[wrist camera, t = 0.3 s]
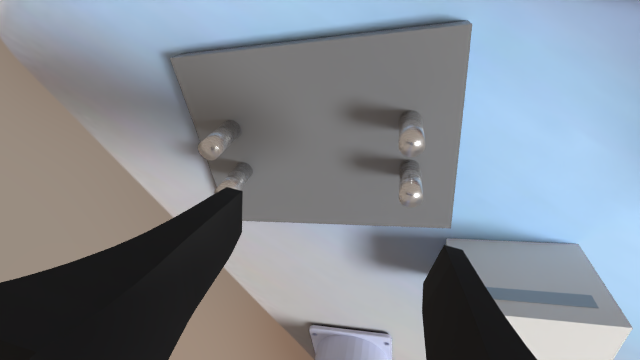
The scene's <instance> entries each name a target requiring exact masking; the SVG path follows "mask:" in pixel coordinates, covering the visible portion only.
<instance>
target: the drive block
mask: <svg viewBox="0 0 640 360" xmlns="http://www.w3.org/2000/svg"><path fill="white" fill-rule="evenodd" d="M446 245H447V246H451V247H454V248H458V249H462V250H463V251H464V253H465V254H466V256H467V258H468V259H469V261H470V262H471V264H472V266H473V267H474V269H475V271H476V272H477V274H478V275H479V277H480V279H481V280H482V282H483V283H484V285H485V287H486V288H487V290H488V291H489V293H490V295H491V296H492V298H493V299H494V301H495V302H496V304H497V305H498V307H499V308H500V310H501V311H502V313H503V314H504V315H505V317H506V318H507V320H508V321H509V323H510V324H511V325H512V327H513V328H514V330H515V331H516V332H517V334H518V335H519V336H520V338H521V339H522V341H523V342H524V343H525V345H526V346H527V347H528V348H529V350H530V351H531V352H532V354H533V355H534V356H535V357H536V359H537V360H613V359H614V357H615V356H616V354H617V352H618V351H619V349H620V348H621V346H622V344H623V343H624V341H625V340H626V338H627V337H628V335H629V333H630V332H631V330H632V329H633V328H632V326H631V325H630V323H629V321H628V320H627V318H626V317H625V315H624V314H623V312H622V311H621V309H620V308H619V306H618V304H617V303H616V301H615V300H614V298H613V297H612V295H611V294H610V292H609V291H608V289H607V287H606V286H605V284H604V283H603V281H602V280H601V278H600V277H599V275H598V274H597V272H596V271H595V269H594V267H593V266H592V264H591V263H590V261H589V260H588V258H587V257H586V255H585V254H584V252H583V250H582V249H581V247H580V246H579V244H565V243H542V242H520V241H497V240H475V239H452V238H446Z"/></svg>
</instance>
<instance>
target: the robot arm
mask: <svg viewBox="0 0 640 360" xmlns="http://www.w3.org/2000/svg"><path fill="white" fill-rule="evenodd" d="M242 199H243V191H240V190H237V189H233V188H229V187H226V188H224V189H222V190H221V191H219V192H217V193H215V194H214V195H212V196H210V197H209V198H207V199H205V200H204V201H202V202H200V203H199V204H197V205H195V206H194V207H192V208H190V209H188V210H187V211H185V212H183V213H182V214H180V215H178V216H176V217H174V218H173V219H171V220H169V221H167V222H165V223H163V224H161V225H159V226H157V227H156V228H153V229H152V230H150V231H148V232H146V233H144V234H141V235H139V236H137V237H135V238H133V239H130V240H128V241H126V242H123V243H121V244H119V245H116V246H114V247H111V248H109V249H106V250H104V251H101V252H98V253H95V254H93V255H90V256H87V257H85V258H82V259H79V260H76V261H73V262H70V263H68V264H64V265H61V266H58V267H55V268H52V269H49V270H45V271H42V272H38V273H35V274H32V275H28V276H24V277H21V278H17V279H13V280H10V281H5V282H1V283H0V360H168V359H169V357H170V355H171V353H172V351H173V349H174V347H175V346H176V344H177V342H178V340H179V338H180V336H181V334H182V332H183V330H184V329H185V327H186V325H187V322H188V321H189V319H190V318H191V316H192V314H193V313H194V311H195V309H196V308H197V306H198V305H199V303H200V302H201V300H202V299H203V297H204V296H205V294H206V292H207V291H208V289H209V288H210V286H211V285H212V283H213V282H214V280H215V279H216V277H217V276H218V274H219V273H220V271H221V269H222V268H223V267H224V265H225V264H226V262H227V260H228V259H229V257H230V256H231V254H232V252H233V250H234V248H235V246H236V244H237V241H238V239H239V237H240V235H241V233H242ZM422 314H423V326H424V338H425V348H426V359H427V360H537V359H536V357H535V356H534V355H533V354H532V352H531V351H530V350H529V348H528V347H527V346H526V345H525V343H524V342H523V341H522V339H521V338H520V336H519V335H518V334H517V332H516V331H515V330H514V328H513V327H512V325H511V324H510V323H509V321H508V320H507V318H506V317H505V315H504V314H503V313H502V311H501V310H500V308H499V307H498V305H497V304H496V302H495V301H494V299H493V298H492V296H491V295H490V293H489V291H488V290H487V288H486V287H485V285H484V283H483V282H482V280H481V279H480V277H479V275H478V274H477V272H476V271H475V269H474V267H473V266H472V264H471V262H470V261H469V259H468V258H467V256H466V254H465V253H464V251H463V250H462V249H458V248H454V247H451V246H447V245H444V246H443V248H442V250H441V252H440V253H439V255H438V257H437V259H436V261H435V263H434V264H433V266H432V268H431V270H430V272H429V274H428V275H427V277H426V279H425V281H424V283H423V304H422ZM309 332H310V335H311V339H312V343H313V347H314V351H315V355H316V356H315V360H392V338H391V336H390V335H388V334H383V333H375V332H367V331H358V330H350V329H342V328H334V327H325V326H317V325H312V326H310V329H309Z"/></svg>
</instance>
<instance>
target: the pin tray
mask: <svg viewBox="0 0 640 360" xmlns="http://www.w3.org/2000/svg"><path fill="white" fill-rule="evenodd" d="M471 31H472V23H470V22H469V21H460V22H452V23H443V24H434V25H426V26H417V27H409V28H400V29H391V30H383V31H374V32H366V33H357V34H348V35H340V36H331V37H323V38H314V39H306V40H297V41H288V42H280V43H271V44H263V45H254V46H245V47H237V48H228V49H220V50H211V51H202V52H194V53H185V54H180V55H177V56H175V57H172V58H170V60H171V63H172V65H173V68H174V71H175V74H176V76H177V79H178V82H179V85H180V87H181V90H182V93H183V96H184V98H185V101H186V104H187V107H188V109H189V112H190V115H191V117H192V120H193V123H194V126H195V128H196V131H197V134H198V137H199V139H200V143H199V145H198V150H199V153H200V154H201V156H202V157H204V158H205V159H207V161H208V164H209V167H210V169H211V172H212V175H213V178H214V180H215V183H216V186H217V189H216V190H215V193H217V192H219V191H221V190H222V189H224V188H226V187H229V188H233V189H237V190H240V191H243V199H242V221H264V222H291V223H319V224H346V225H373V226H400V227H427V228H451V221H452V212H453V202H454V193H455V183H456V174H457V164H458V155H459V145H460V135H461V126H462V116H463V107H464V97H465V88H466V78H467V69H468V59H469V50H470V40H471Z"/></svg>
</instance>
